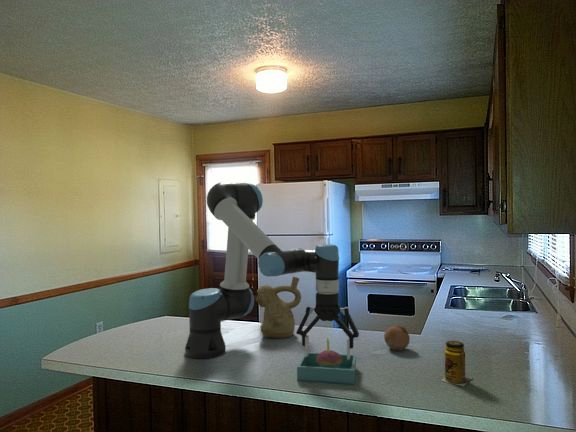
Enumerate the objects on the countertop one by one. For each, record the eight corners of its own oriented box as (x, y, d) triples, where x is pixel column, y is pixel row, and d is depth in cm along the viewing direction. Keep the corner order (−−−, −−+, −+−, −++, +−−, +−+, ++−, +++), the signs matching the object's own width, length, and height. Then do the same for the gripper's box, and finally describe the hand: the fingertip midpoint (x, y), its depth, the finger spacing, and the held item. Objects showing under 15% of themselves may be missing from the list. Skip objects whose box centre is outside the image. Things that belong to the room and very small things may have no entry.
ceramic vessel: (257, 329, 203) (257, 274, 202) (301, 329, 202) (301, 274, 202) (253, 340, 186) (253, 280, 185) (301, 340, 185) (301, 280, 185)
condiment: (439, 381, 141) (439, 343, 141) (449, 373, 148) (449, 337, 148) (463, 387, 137) (463, 347, 136) (472, 378, 143) (472, 341, 143)
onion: (406, 356, 174) (418, 334, 173) (394, 355, 167) (406, 332, 166) (387, 342, 180) (399, 320, 179) (375, 341, 174) (387, 318, 173)
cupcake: (341, 378, 142) (340, 339, 142) (314, 377, 144) (314, 339, 144) (343, 369, 151) (342, 333, 151) (317, 368, 152) (316, 332, 152)
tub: (297, 380, 142) (297, 366, 142) (304, 365, 156) (304, 352, 156) (353, 384, 139) (353, 370, 139) (356, 368, 153) (356, 355, 153)
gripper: (287, 293, 146) (287, 358, 146) (365, 295, 141) (365, 363, 141) (291, 288, 153) (292, 351, 154) (366, 291, 148) (366, 355, 149)
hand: (327, 357), depth 147 cm, fingers open, 13 cm apart
